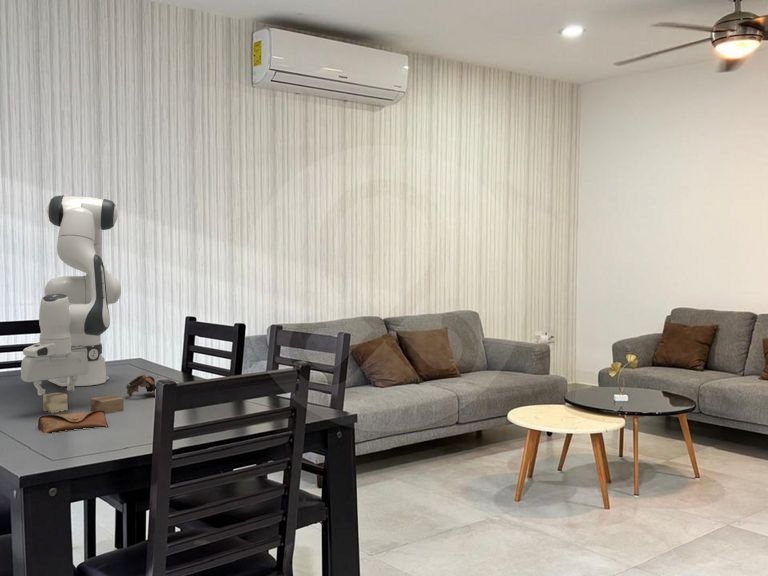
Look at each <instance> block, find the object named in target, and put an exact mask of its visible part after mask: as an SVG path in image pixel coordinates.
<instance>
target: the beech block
mask: <svg viewBox="0 0 768 576" xmlns="http://www.w3.org/2000/svg"><path fill="white" fill-rule="evenodd" d="M42 398H43V399H42V404H43V406H42V409H43V410H44V412H46V411H48V413H50V412H51V413H50V414H54V412H55V413H60V412H59V411H61V412H65V411H64V410H66V411H68V409H69V408H68V394H67V393H63V392H52V393H45V395H42Z"/></svg>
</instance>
